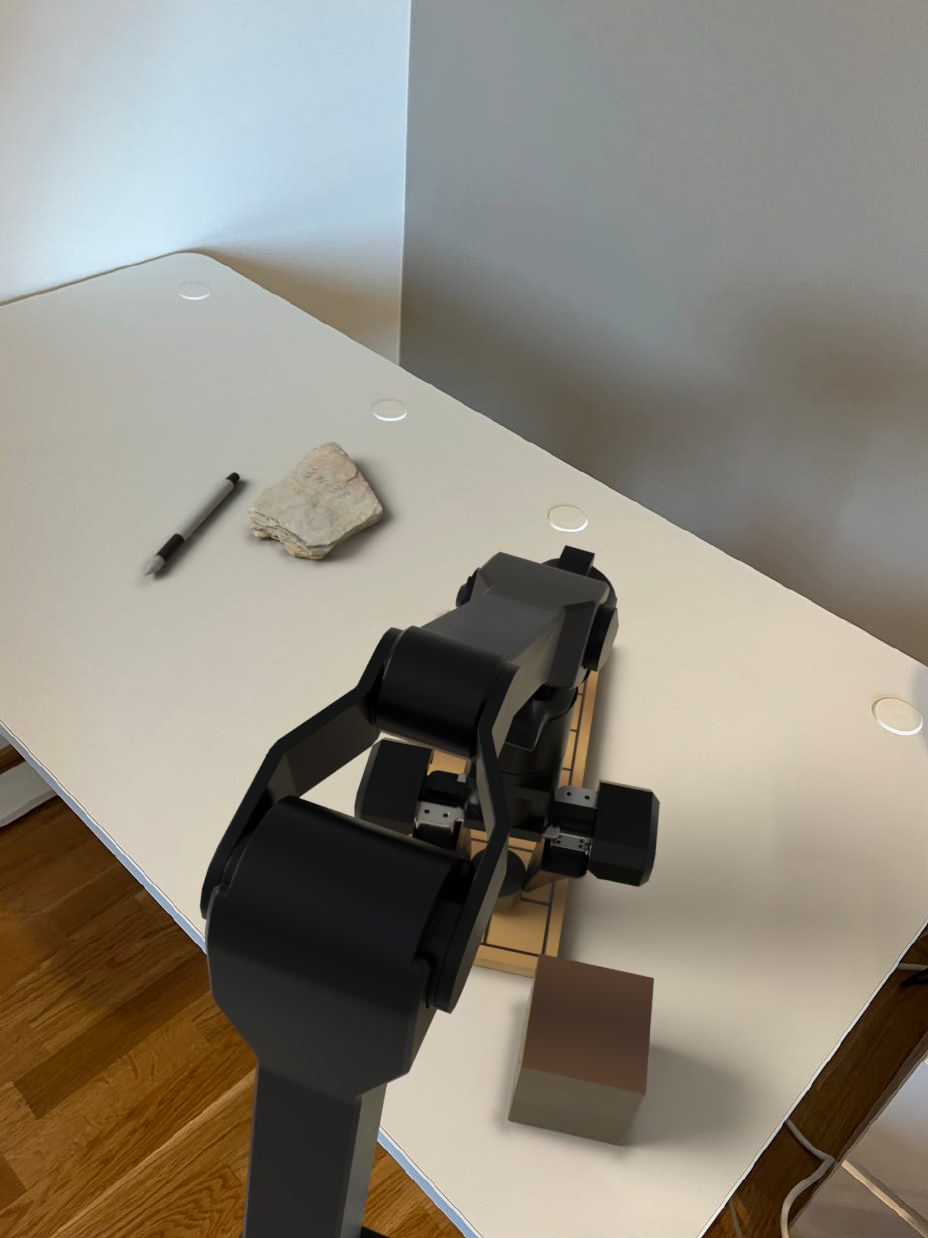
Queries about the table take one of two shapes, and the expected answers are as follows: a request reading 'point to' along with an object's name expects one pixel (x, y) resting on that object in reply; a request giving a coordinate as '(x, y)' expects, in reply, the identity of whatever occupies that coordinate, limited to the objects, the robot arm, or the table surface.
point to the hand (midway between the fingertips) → (496, 879)
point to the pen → (192, 524)
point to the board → (540, 911)
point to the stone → (316, 504)
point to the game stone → (508, 881)
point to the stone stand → (583, 1050)
